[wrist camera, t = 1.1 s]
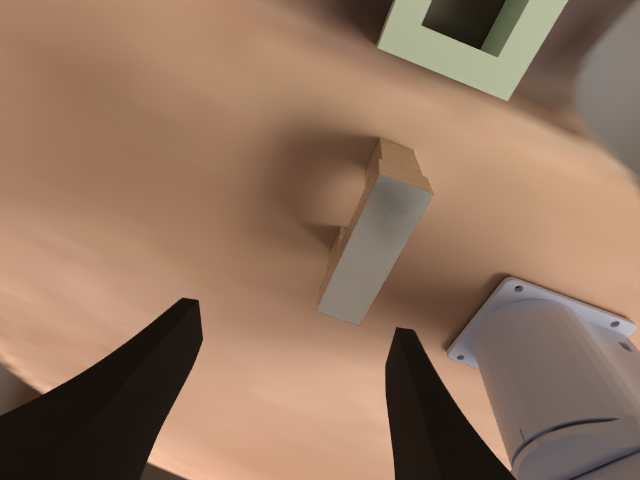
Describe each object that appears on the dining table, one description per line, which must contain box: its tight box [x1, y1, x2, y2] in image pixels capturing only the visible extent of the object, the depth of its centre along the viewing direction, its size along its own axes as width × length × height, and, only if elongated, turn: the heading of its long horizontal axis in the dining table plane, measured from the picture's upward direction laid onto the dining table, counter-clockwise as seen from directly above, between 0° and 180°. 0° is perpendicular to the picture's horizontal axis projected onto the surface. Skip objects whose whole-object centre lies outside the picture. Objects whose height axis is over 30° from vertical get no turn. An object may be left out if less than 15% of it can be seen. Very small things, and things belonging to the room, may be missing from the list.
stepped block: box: [316, 138, 434, 326], centre depth 19 cm, size 2×8×6 cm, turn 161°
